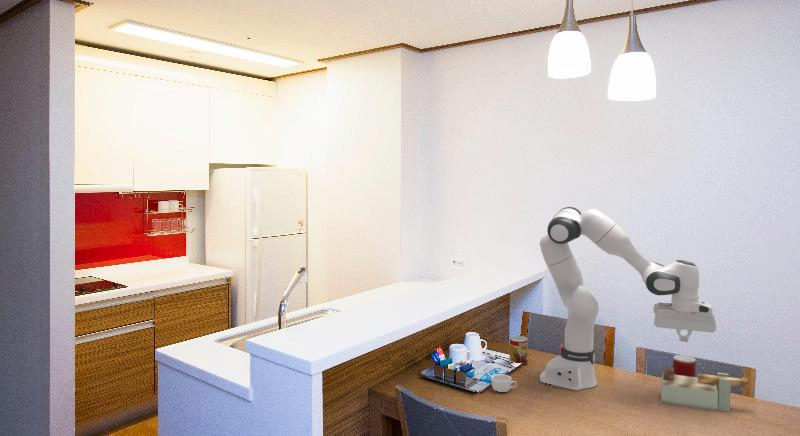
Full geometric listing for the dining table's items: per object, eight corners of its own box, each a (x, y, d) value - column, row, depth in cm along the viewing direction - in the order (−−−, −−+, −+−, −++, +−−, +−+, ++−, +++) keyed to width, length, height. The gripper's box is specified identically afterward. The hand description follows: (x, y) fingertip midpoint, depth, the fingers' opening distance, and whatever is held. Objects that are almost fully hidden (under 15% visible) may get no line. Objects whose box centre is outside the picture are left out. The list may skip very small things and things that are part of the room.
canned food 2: (697, 389, 214) (698, 361, 213) (675, 387, 215) (676, 360, 214) (691, 381, 221) (692, 355, 220) (670, 380, 223) (670, 354, 222)
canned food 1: (524, 368, 238) (524, 342, 237) (507, 365, 242) (507, 339, 241) (529, 363, 245) (529, 337, 244) (512, 360, 249) (512, 334, 248)
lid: (663, 384, 201) (663, 372, 200) (662, 376, 209) (662, 364, 209) (716, 392, 194) (717, 379, 193) (713, 382, 202) (714, 370, 201)
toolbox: (661, 402, 202) (662, 372, 201) (660, 393, 210) (661, 364, 209) (730, 412, 193) (731, 381, 192) (726, 402, 201) (727, 372, 200)
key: (698, 383, 198) (698, 375, 198) (697, 379, 202) (697, 371, 202) (748, 389, 192) (748, 381, 192) (746, 385, 195) (746, 377, 195)
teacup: (490, 393, 213) (490, 380, 212) (492, 386, 220) (492, 373, 220) (516, 396, 210) (516, 382, 210) (517, 388, 218) (517, 375, 217)
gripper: (653, 304, 201) (652, 340, 202) (717, 309, 192) (715, 346, 194) (653, 300, 207) (652, 335, 208) (715, 304, 198) (714, 341, 199)
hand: (683, 341), depth 201 cm, fingers closed
